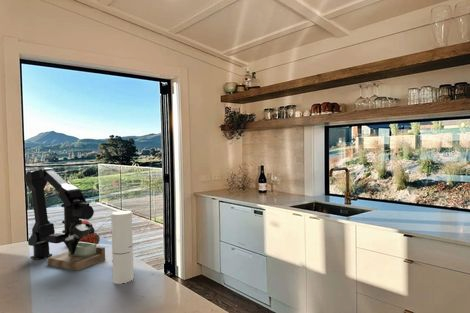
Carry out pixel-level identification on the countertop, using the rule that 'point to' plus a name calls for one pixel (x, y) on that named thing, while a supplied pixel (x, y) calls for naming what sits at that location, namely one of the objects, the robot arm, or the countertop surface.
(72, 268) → the walnut shelf
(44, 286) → the countertop surface
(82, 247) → the sage tray
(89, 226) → the robot arm
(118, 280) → the cylindrical container
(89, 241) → the dragon fruit
